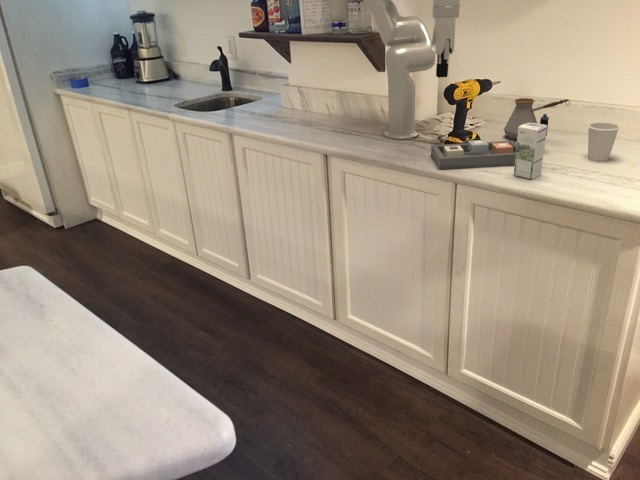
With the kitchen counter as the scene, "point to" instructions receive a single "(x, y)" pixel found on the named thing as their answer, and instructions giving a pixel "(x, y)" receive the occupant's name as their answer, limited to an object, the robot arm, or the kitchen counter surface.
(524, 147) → the syrup box
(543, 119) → the vaping device
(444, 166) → the keypad base
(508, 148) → the key coral
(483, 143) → the key slate
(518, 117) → the coffee pot
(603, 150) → the dixie cup
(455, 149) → the key ivory
